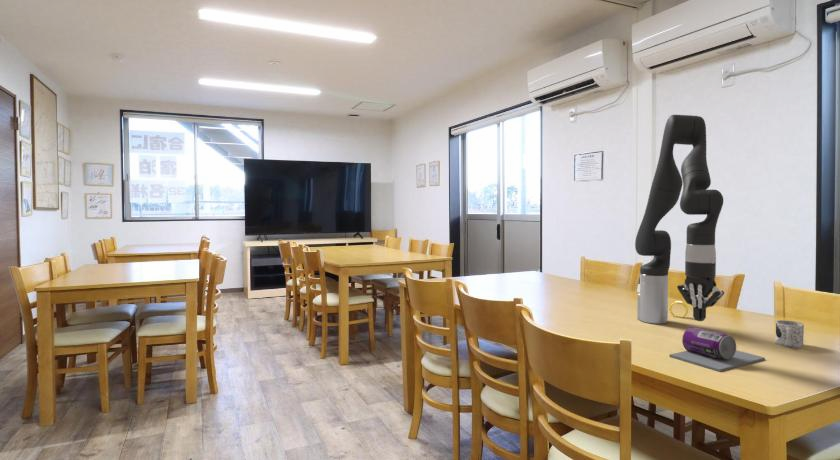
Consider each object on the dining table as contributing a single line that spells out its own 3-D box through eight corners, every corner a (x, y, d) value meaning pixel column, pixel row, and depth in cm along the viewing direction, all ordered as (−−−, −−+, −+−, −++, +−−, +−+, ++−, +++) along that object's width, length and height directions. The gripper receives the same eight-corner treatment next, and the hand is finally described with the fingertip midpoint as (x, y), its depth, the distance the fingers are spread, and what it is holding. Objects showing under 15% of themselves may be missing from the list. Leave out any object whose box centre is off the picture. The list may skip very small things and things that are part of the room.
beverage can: (679, 351, 139) (718, 361, 127) (680, 326, 139) (719, 334, 128) (697, 350, 141) (737, 360, 130) (698, 326, 141) (738, 334, 130)
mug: (776, 340, 150) (776, 319, 150) (803, 343, 146) (804, 322, 145) (774, 347, 142) (774, 325, 142) (802, 351, 138) (803, 329, 138)
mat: (669, 356, 135) (669, 354, 135) (714, 346, 144) (714, 344, 144) (719, 371, 123) (719, 369, 123) (764, 359, 132) (764, 357, 132)
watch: (687, 317, 182) (689, 302, 181) (686, 319, 180) (687, 303, 179) (670, 314, 185) (671, 299, 185) (668, 316, 183) (670, 300, 183)
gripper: (670, 258, 141) (669, 317, 142) (715, 263, 129) (714, 327, 130) (687, 257, 144) (686, 314, 145) (732, 261, 132) (731, 323, 133)
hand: (699, 320), depth 137 cm, fingers closed
